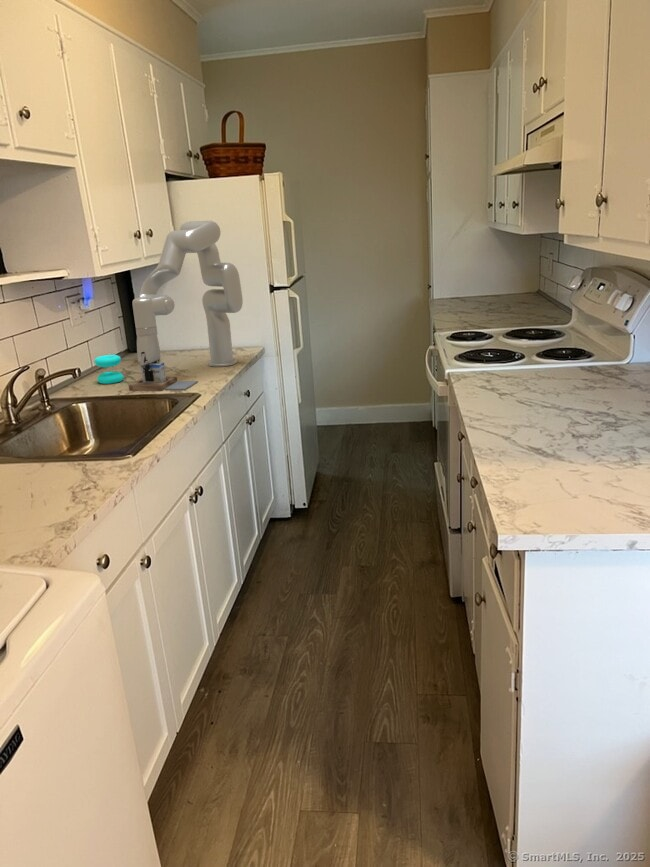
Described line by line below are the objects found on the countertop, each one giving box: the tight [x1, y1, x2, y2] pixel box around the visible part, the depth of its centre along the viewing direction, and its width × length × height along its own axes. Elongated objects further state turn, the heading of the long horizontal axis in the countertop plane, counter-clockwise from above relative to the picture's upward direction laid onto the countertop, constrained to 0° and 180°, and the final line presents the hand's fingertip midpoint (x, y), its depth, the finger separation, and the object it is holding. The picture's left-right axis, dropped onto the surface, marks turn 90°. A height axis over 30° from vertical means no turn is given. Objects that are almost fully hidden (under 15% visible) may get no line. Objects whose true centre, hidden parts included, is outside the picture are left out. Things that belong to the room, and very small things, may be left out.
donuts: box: [94, 354, 125, 385], centre depth 256 cm, size 10×10×10 cm
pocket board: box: [128, 376, 178, 392], centre depth 247 cm, size 14×13×2 cm
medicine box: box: [140, 362, 167, 383], centre depth 246 cm, size 8×4×9 cm, turn 83°
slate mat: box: [164, 380, 199, 391], centre depth 245 cm, size 12×8×1 cm, turn 168°
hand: (153, 378), depth 247 cm, fingers closed on medicine box, 4 cm apart
